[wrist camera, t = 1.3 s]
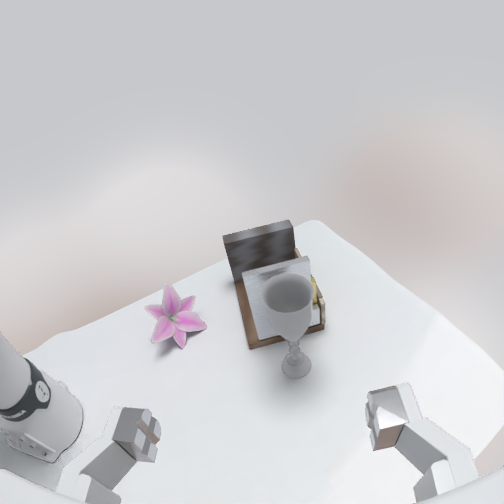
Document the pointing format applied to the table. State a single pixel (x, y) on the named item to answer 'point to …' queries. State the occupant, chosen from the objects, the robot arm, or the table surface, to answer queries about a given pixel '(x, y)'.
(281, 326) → the chalice
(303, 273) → the grey metal angled plate
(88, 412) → the table surface
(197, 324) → the lily
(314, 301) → the drag pointer
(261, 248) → the wooden book stand
